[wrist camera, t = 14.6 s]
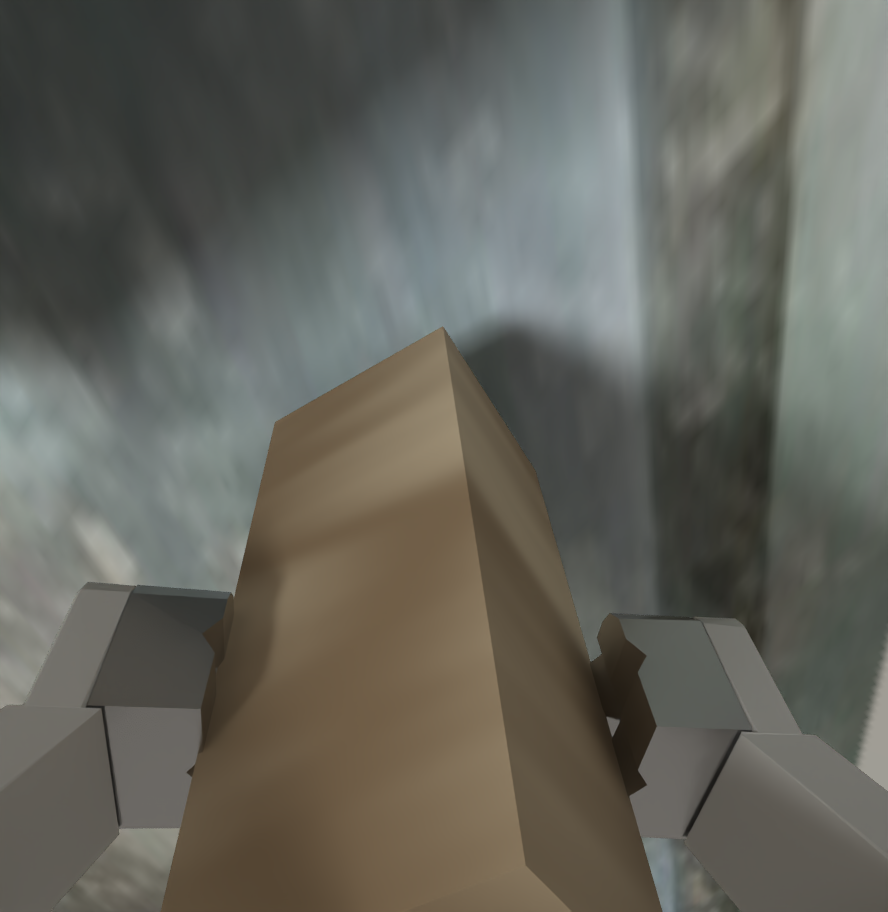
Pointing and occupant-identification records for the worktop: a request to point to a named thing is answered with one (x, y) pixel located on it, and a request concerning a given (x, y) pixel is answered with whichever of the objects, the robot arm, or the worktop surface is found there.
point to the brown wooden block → (405, 678)
